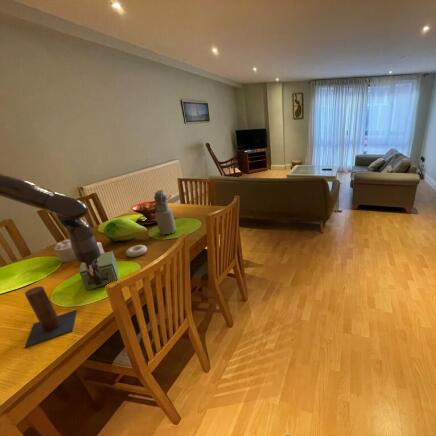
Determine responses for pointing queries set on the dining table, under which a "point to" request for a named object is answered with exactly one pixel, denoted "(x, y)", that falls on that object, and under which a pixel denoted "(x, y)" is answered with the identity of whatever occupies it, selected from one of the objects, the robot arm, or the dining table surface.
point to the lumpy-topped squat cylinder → (64, 251)
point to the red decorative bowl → (146, 212)
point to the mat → (40, 335)
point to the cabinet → (103, 264)
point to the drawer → (105, 274)
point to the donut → (136, 251)
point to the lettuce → (123, 230)
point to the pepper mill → (42, 308)
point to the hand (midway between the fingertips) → (99, 284)
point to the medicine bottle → (100, 247)
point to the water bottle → (163, 214)
